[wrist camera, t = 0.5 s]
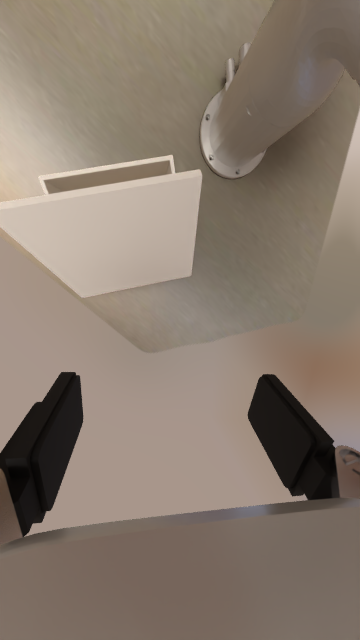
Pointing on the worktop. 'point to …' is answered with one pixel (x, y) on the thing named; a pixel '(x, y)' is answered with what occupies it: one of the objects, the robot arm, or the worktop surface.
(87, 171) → the carton
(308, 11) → the robot arm
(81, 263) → the carton lid
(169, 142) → the worktop surface
